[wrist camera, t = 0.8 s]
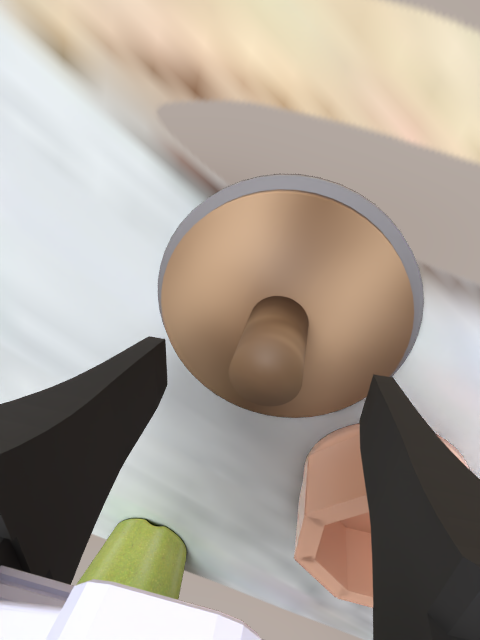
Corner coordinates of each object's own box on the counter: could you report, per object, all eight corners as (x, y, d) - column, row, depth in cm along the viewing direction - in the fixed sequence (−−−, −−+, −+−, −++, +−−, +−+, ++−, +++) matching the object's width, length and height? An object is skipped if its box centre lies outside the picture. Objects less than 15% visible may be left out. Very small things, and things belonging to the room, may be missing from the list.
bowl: (499, 441, 19) (543, 527, 15) (440, 544, 23) (462, 631, 19) (316, 407, 20) (313, 477, 16) (294, 510, 24) (287, 585, 21)
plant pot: (158, 490, 27) (92, 637, 19) (231, 567, 29) (197, 721, 22) (75, 514, 30) (-7, 643, 23) (146, 580, 33) (93, 714, 26)
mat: (463, 189, 14) (467, 192, 13) (382, 427, 20) (383, 434, 19) (155, 160, 16) (150, 161, 15) (166, 385, 21) (163, 391, 21)
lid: (448, 205, 14) (498, 244, 9) (375, 424, 19) (387, 510, 15) (162, 176, 15) (100, 199, 11) (171, 385, 21) (131, 453, 17)
